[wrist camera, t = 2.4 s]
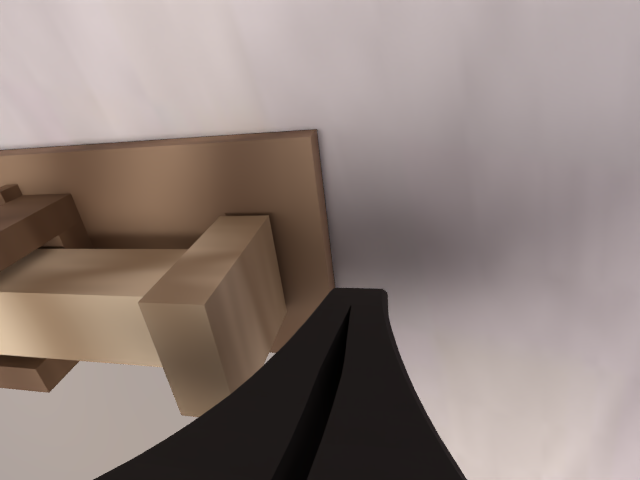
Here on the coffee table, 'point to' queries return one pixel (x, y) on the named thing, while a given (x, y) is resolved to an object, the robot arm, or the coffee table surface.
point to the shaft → (154, 308)
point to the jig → (166, 211)
